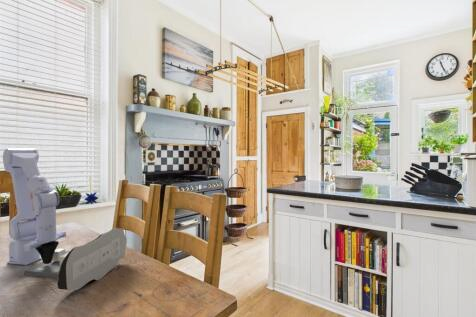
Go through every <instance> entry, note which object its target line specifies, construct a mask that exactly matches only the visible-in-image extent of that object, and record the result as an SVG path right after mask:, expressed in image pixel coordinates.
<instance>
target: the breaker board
mask: <svg viewBox="0 0 476 317" xmlns="http://www.w3.org/2000/svg"><path fill="white" fill-rule="evenodd" d="M70 251H71V250H65V254H66V253H69V252H70ZM59 271H60V261H52V262H51V263H49V264H43V261H42V262H39V263H37V264H34V265H33V266H31V267H28V268H26V269H24V270H23V275H24V276H33V277H43V278H51V279H58V276H59Z"/></svg>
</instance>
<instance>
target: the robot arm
mask: <svg viewBox="0 0 476 317" xmlns="http://www.w3.org/2000/svg"><path fill="white" fill-rule="evenodd" d="M39 156H40V155H39V151H38V150H37V149H36V148H9V147H8V148H5V149H4V150H3V153H2V161H3V168H4V170H5V172H8V173H9V174H10V176H11V181H12V187H13V188H12V189H13V193H14V200H15V205H16V206H15V207H16V212H17V214H16V215H15V216H14V217H13V218H11V219H10V221H9V223H8V224H9V228H8V234H9V236H10V239H11V241H10V242H9V245H8V261H6V263H7V264H13V265H23V266H24V265H25V266H27V265H30V264H33V263H35V262H37V261H39V260H42V262H43V264H49V263H51V262H52V258H53V254H54V252H55V250H56V249H57V248H58V247H59V243H60V242H59V240H60V239H62V238H65V237H67V231H59V232H57V207H58V206H59V204H60V196H59V194H58V192H57V191H56V190H55V189H53V188H51V187H50V184H49V182H48V180H47V178H46V177H45V176H42V175H41V172H40V170H39V167H38V162H39V159H40V158H39ZM31 196H32V197H31Z"/></svg>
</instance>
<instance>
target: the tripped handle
mask: <svg viewBox="0 0 476 317" xmlns="http://www.w3.org/2000/svg"><path fill="white" fill-rule="evenodd" d="M65 251H66V249H65V248H58V247H57V248H56V249H55V252H54V254H53V258H52V261H60V258H59V257H60V256H62V255H64V254H65Z"/></svg>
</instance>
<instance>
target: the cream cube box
mask: <svg viewBox="0 0 476 317" xmlns="http://www.w3.org/2000/svg"><path fill="white" fill-rule="evenodd" d="M67 254H68V253H66V254H64V255H62V256H60V257H59V258H60V266H61V264H62V262H63V260H64V258H65V257H66V255H67Z"/></svg>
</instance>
